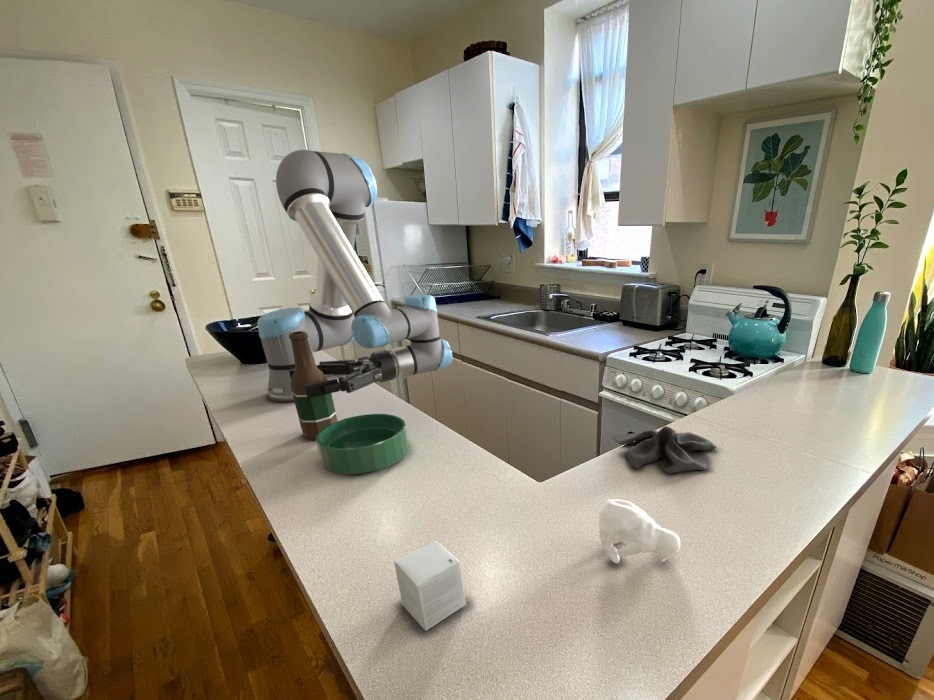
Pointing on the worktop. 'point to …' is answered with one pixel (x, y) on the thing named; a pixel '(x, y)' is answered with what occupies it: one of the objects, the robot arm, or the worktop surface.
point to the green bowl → (362, 443)
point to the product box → (430, 584)
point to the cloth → (667, 449)
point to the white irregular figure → (633, 532)
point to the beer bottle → (309, 410)
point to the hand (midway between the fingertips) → (297, 383)
